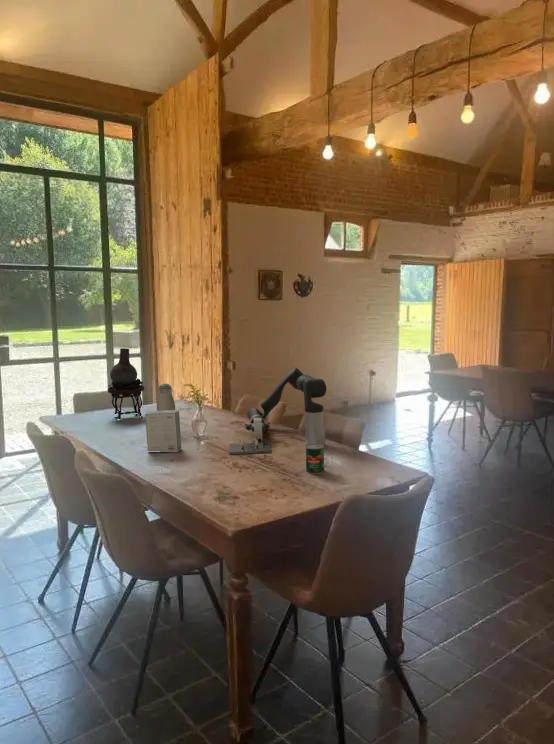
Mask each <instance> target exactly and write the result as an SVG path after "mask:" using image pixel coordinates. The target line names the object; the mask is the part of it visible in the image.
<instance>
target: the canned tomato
mask: <svg viewBox="0 0 554 744" xmlns="http://www.w3.org/2000/svg"><path fill="white" fill-rule="evenodd" d="M305 472H306V473H307V474H309V475H310V474H311V475H318V474H323V473H324V472H325V445H322V444H309V445H306V444H305Z"/></svg>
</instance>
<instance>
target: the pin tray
mask: <svg viewBox="0 0 554 744" xmlns="http://www.w3.org/2000/svg"><path fill="white" fill-rule="evenodd" d="M244 441H245V440H244V439H242V440H241V442H240V443H239V442H238V443H230V444H229V447H228V448H229V449H228V450H229V453H228V454H229V455H243V454H244V455H250V454H251V455H252V454H267V453H268V454H269V453H272V449H271V444H270V441H262V442H258V439H256V440H255V441H254V442H244Z"/></svg>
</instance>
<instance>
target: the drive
mask: <svg viewBox="0 0 554 744" xmlns="http://www.w3.org/2000/svg"><path fill="white" fill-rule="evenodd" d="M253 436H254V437H253V438H254V442H255V440H256V439H258V442H263V431H262V419H261V418H254V432H253Z"/></svg>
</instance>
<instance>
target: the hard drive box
mask: <svg viewBox="0 0 554 744" xmlns="http://www.w3.org/2000/svg"><path fill="white" fill-rule="evenodd" d="M144 416H145V417H144V418H145V429H146V430H145V431H146V440H147V442H146V443H147V444H146V445H147V452H148V451H160V452H177V453H179V452H180V451H181V450H182V449H181V448H182V436H181V435H182V434H181V422H180V410H178V409H177V410H176V409H175V410H171V411H157V410H149V411H148V412H146V413H145V415H144ZM180 449H181V450H180ZM179 450H180V451H179ZM178 451H179V452H178Z"/></svg>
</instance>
